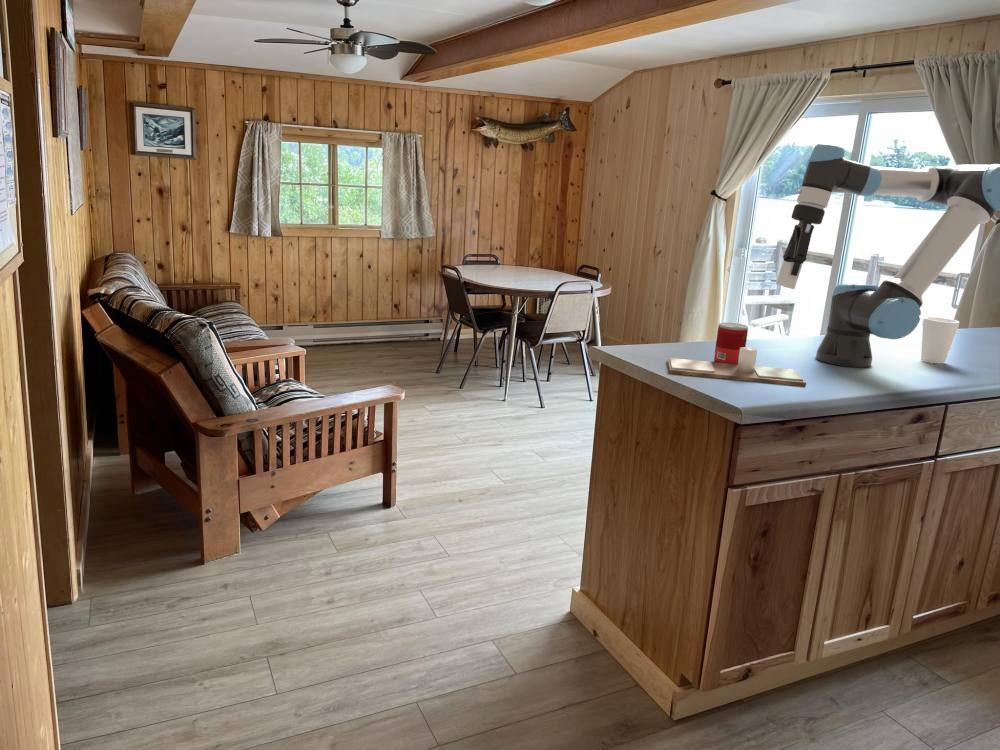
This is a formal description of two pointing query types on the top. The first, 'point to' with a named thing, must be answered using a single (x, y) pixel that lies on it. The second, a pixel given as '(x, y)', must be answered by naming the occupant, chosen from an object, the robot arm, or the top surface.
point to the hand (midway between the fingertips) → (784, 286)
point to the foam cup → (937, 338)
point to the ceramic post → (747, 360)
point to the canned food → (730, 342)
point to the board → (734, 372)
